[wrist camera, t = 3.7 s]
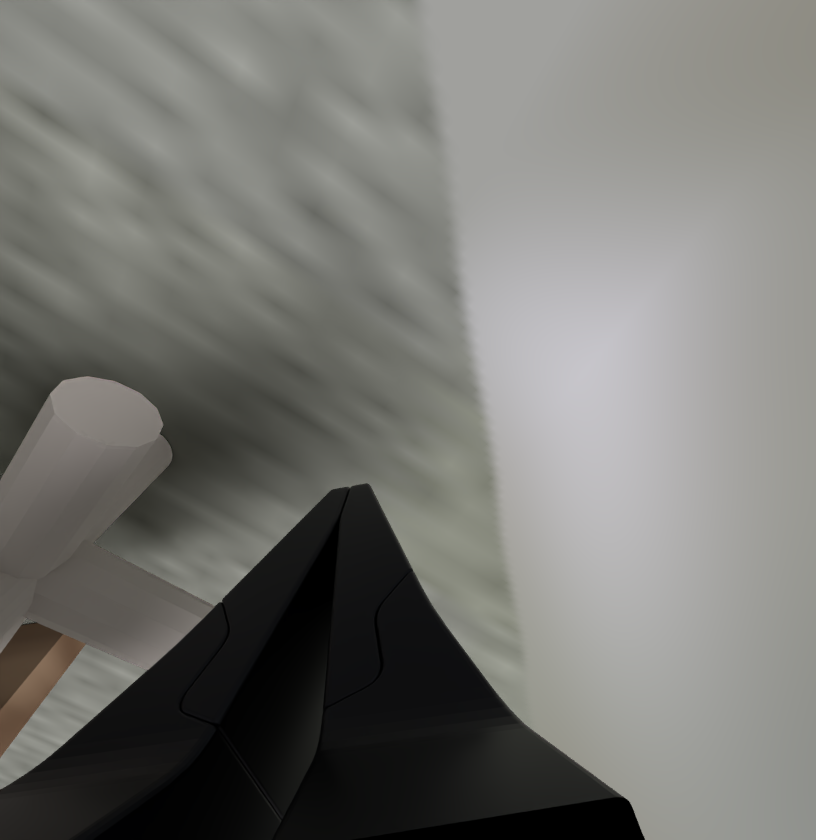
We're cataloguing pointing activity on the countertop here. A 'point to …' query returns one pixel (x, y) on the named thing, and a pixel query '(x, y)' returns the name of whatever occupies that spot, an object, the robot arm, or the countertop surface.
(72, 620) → the pipe connector
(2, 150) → the countertop surface
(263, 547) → the countertop surface
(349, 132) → the countertop surface
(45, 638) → the walnut bay
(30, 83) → the countertop surface
